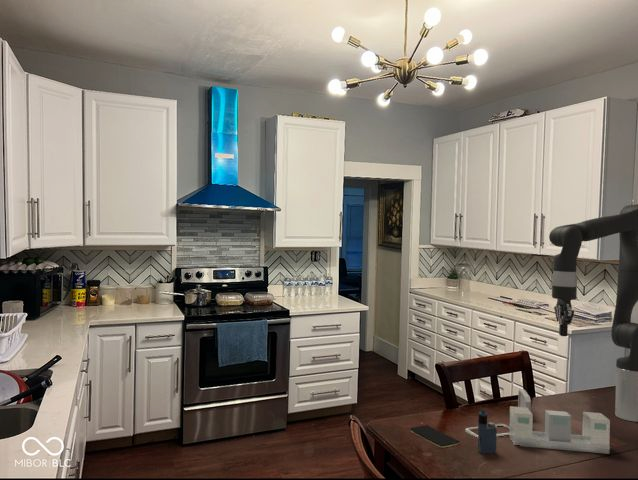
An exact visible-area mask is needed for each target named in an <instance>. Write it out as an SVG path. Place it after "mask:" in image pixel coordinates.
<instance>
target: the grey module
mask: <svg viewBox="0 0 638 480" xmlns="http://www.w3.org/2000/svg"><path fill="white" fill-rule="evenodd" d="M544 432H545V438H546V439H547V440H553V441H565V442H571V434H572V415H570V413H568V412H567V411H563V410H562V411H559V410H547V409H546V410H545V411H544Z"/></svg>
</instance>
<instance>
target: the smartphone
mask: <svg viewBox="0 0 638 480" xmlns="http://www.w3.org/2000/svg"><path fill="white" fill-rule="evenodd" d="M409 431H410V432H411V433H413V434H415V435H416V436H419V437H420V438H422V439H424V440H425V441H427V442H429V443H431V444H433V445H434V446H436V447H438V448H442V449H444V448H450V447H454V446H457V445H460V444H461V442H460V440H458V439H456V438H454V437H452V436H449V435H448V434H446V433H444V432H442V431H440V430H438V429H435V428H434V427H432V426H430V425H429V424H425V425H419V426H414V427H410V428H409Z"/></svg>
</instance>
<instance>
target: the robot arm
mask: <svg viewBox="0 0 638 480" xmlns="http://www.w3.org/2000/svg"><path fill="white" fill-rule="evenodd" d="M615 234H618V235H619V252H618V253H619V255H618V269H617V270H618V271H617V286H616V287H617V288H616V300H615V306H614V307H615V308H614V314H613V319H612V324H611V340H612V342H613V344H614V345H615V346H617V347H620V348H623V349H624V348H625V349H629V354H628V356H624V357H623V356H622V357H618V358H617V359H616V363H615V364H616V365H615V367H616V368H615V402H614V403H615V405H614V406H615V407H614V414H615V416H616V417H617V418H619V419H622V420H623V421H624V420H625V421H629V422H634V423H638V323H637V322H631V318H632V314H633V313H632V312H633V310H634V307H635V305H636V304H637V302H638V203H636V204H629V205H626V206H624V207H622V209H620V211H619V214H615V215H607V216H601V217H600V216H599V217H595V218H591V219H587V220H583V221H581V222H577V223H570V224H565V225H560V226H556V227H554V228H553V229H552V230H551V231H550V232H549V235H548V238H549V241H550V243H551V244H552V245H554V246H555V247H558V248H559V247H560V248H561V251H560V252H559V253H557V254H555V255H554V257H553V268H552V269H553V270H552V271H553V272H552V277H551V278H552V279H551V280H552V282H551V283H552V284H551V286H552V287H551V298H553V299H556V300H557V301H556V304H555V306H554V307H553V309H554V313H555V319H556V322H557V323H558V325H559V328H558V335H559V336H561V337H567V336H568V331H569V329H568V326H569V325H571V324H572V320H573V317H574V315H575V310H573V305H572V301H573V300H577V296H578V295H577V294H578V293H577V292H578V289H577V288H578V278H577V277H578V275H577V260H578V256H579V253H580V250H581V246H582V243H583V242H590V241H594V240H597V239H601V238H605V237H608V236H609V237H610V236H611V235H615Z"/></svg>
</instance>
